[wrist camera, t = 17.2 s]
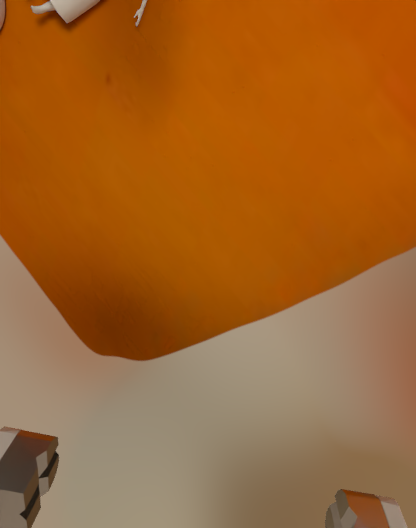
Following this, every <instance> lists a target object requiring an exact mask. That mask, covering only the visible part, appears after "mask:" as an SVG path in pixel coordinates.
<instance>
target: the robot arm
mask: <svg viewBox="0 0 416 528" xmlns="http://www.w3.org/2000/svg"><path fill="white" fill-rule="evenodd" d="M57 446H58V437H55V436H50V435H44V434H40V433H34V432H29V431H24V430H20V429H15V428H8V427H3V428H2V429H1V430H0V528H31V527H32V525H33V523H34V521H35V518H36V516H37V514H38V512H39V510H40V508H41V505H40V497H41V496H42V495H44V494H45V493H46V492H48V491H49V489H50V487H51V485H52V483H53V480H54V478H55V474H56V471H57V468H58V462H59V455H58V454H57V452H56V451H55V450H56V448H57ZM335 498H336V502H335V503H333V504H331V505H330V506H329V508H328V510H327V512H326V520H325V527H326V528H407V526H406V523H405V521H404V518H403V515H402V513H401V510H400V508H399V505H398V503H397V502H396V501H395V499H392V498H389V497H382V496H377V495H374V494H368V493H362V492H356V491H350V490H344V489H340V490H338V491H337V493H336V495H335Z"/></svg>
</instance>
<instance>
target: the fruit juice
mask: <svg viewBox="0 0 416 528" xmlns="http://www.w3.org/2000/svg"><path fill="white" fill-rule="evenodd" d="M4 18H5V0H0V30H1V28H2V25H3V22H4Z"/></svg>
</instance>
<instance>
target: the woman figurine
mask: <svg viewBox="0 0 416 528" xmlns="http://www.w3.org/2000/svg"><path fill="white" fill-rule="evenodd" d="M99 1H100V0H50V1H48V2H47V3H45V4H43V5H41V6H30V7H31V9H32V11H33V12H34V13H35V14H42V13H44V12H47V11H54V10H56V11H57V13H58V14H59V15H60V16H61V17H62V18H63V19H64V21H65V22H66V23H69V22H71V21H73V20H74V19H76V18H77V17H79V16H80V15H81V14H83V13H84V12H86V11H87V10H89V9H90V8H92V7H93V6H94V5H96V4H97V3H98V2H99ZM146 3H147V0H143V1H142V5H141V8H140V9H139V10H138V11H137V12H136V14H135V16H134V18H135V17H136V16H137V15H138V21H137V22H136V27H137V26H138V24H139V22H140V20H141V17H142V14H143V11H144V8H145V6H146Z"/></svg>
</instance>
